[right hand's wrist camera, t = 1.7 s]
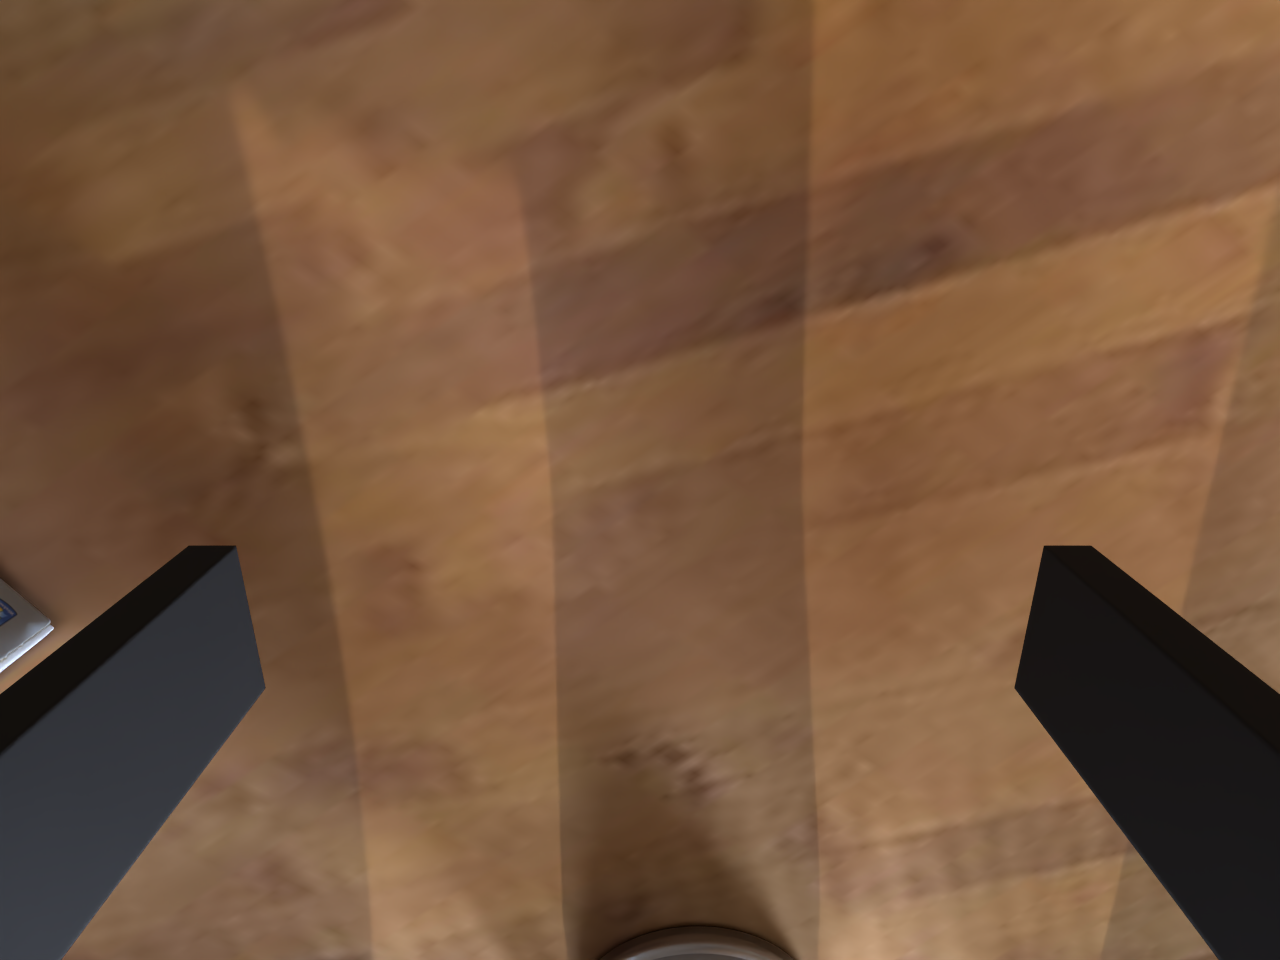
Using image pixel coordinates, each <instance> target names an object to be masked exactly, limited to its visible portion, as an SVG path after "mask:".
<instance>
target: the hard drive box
mask: <svg viewBox="0 0 1280 960" xmlns="http://www.w3.org/2000/svg"><path fill="white" fill-rule="evenodd" d="M50 623H51V621H50V619H49V618H47V617H46V616H45V615H44V614H42V613H41V612H40V611H39V610H38V609H37V608H36V607H34V606H33V605H32V604H31V603H30V602H28V601H27V600H26V599H25V598H23V597H22V596H21V595H20V594H19V593H17V592H16V591H15V590H14V589H13V588H11V587H10V586H9V585H8V584H7V583H6V582H4V581H3V580H2V579H1V578H0V672H2V671H3V670H4V669H5V668H7V667H8V666H9V665H10V664H12V663H13V662H14V661H15V660H17V659H18V658H19V657H20V656H22V655H23V654H24V653H25V652H27V651H28V650H29V649H30V648H32V647H33V646H34V645H35V644H37V643H38V642H39V641H40V640H41V639H43V638H44V637H45V636H46V635H47V634H49V633H50V632H51V631H52V630H53V629H54V627H53V626H52V625H50Z"/></svg>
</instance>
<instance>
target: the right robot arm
mask: <svg viewBox="0 0 1280 960" xmlns="http://www.w3.org/2000/svg"><path fill="white" fill-rule="evenodd" d="M264 689H265V683H264V678H263V673H262V669H261V664H260V659H259V654H258V649H257V644H256V640H255V635H254V630H253V625H252V620H251V615H250V611H249V606H248V601H247V596H246V591H245V587H244V582H243V577H242V572H241V567H240V562H239V558H238V553H237V548H236V546H188V547H187V548H185V549H184V550H183V551H182V552H180V553H179V554H178V555H176V556H175V557H174V558H173V559H171V560H170V561H169V562H168V563H166V564H165V565H164V566H162V567H161V568H160V569H159V570H157V571H156V572H155V573H154V574H152V575H151V576H150V577H149V578H147V579H146V580H145V581H143V582H142V583H141V584H140V585H138V586H137V587H136V588H135V589H133V590H132V591H131V592H130V593H128V594H127V595H126V596H124V597H123V598H122V599H121V600H119V601H118V602H117V603H116V604H114V605H113V606H112V607H110V608H109V609H108V610H107V611H105V612H104V613H103V614H102V615H100V616H99V617H98V618H97V619H95V620H94V621H93V622H91V623H90V624H89V625H88V626H86V627H85V628H84V629H83V630H81V631H80V632H79V633H78V634H76V635H75V636H74V637H72V638H71V639H70V640H69V641H67V642H66V643H65V644H64V645H62V646H61V647H60V648H58V649H57V650H56V651H55V652H53V653H52V654H51V655H50V656H48V657H47V658H46V659H45V660H43V661H42V662H41V663H39V664H38V665H37V666H36V667H34V668H33V669H32V670H31V671H29V672H28V673H27V674H25V675H24V676H23V677H22V678H20V679H19V680H18V681H17V682H15V683H14V684H13V685H12V686H10V687H9V688H8V689H6V690H5V691H4V692H3V693H1V694H0V960H61V959H62V958H63V957H64V955H65V954H66V953H67V951H68V950H69V949H70V947H71V946H72V945H73V943H74V942H75V941H76V939H77V938H78V937H79V935H80V934H81V933H82V931H83V930H84V929H85V927H86V926H87V925H88V923H89V922H90V921H91V919H92V918H93V917H94V915H95V914H96V913H97V911H98V910H99V909H100V907H101V906H102V905H103V903H104V902H105V901H106V899H107V898H108V897H109V895H110V894H111V893H112V891H113V890H114V889H115V887H116V886H117V885H118V883H119V882H120V881H121V880H122V878H123V877H124V876H125V874H126V873H127V872H128V870H129V869H130V868H131V866H132V865H133V864H134V862H135V861H136V860H137V858H138V857H139V856H140V854H141V853H142V852H143V850H144V849H145V848H146V846H147V845H148V844H149V842H150V841H151V840H152V838H153V837H154V836H155V834H156V833H157V832H158V830H159V829H160V828H161V826H162V825H163V824H164V822H165V821H166V820H167V818H168V817H169V816H170V814H171V813H172V812H173V810H174V809H175V808H176V806H177V805H178V804H179V802H180V801H181V800H182V798H183V797H184V796H185V794H186V793H187V792H188V790H189V789H190V788H191V786H192V785H193V784H194V782H195V781H196V780H197V778H198V777H199V776H200V774H201V773H202V772H203V770H204V769H205V768H206V766H207V765H208V764H209V762H210V761H211V760H212V758H213V757H214V756H215V755H216V753H217V752H218V751H219V749H220V748H221V747H222V745H223V744H224V743H225V741H226V740H227V739H228V737H229V736H230V735H231V733H232V732H233V731H234V729H235V728H236V727H237V725H238V724H239V723H240V721H241V720H242V719H243V717H244V716H245V715H246V713H247V712H248V711H249V709H250V708H251V707H252V705H253V704H254V703H255V701H256V700H257V699H258V697H259V696H260V695H261V693H262V692H263V691H264ZM1015 689H1016V691H1017V692H1018V693H1019V695H1020V696H1021V697H1022V699H1023V700H1024V701H1025V703H1026V704H1027V705H1028V707H1029V708H1030V709H1031V711H1032V712H1033V713H1034V715H1035V716H1036V717H1037V719H1038V720H1039V721H1040V723H1041V724H1042V725H1043V727H1044V728H1045V729H1046V731H1047V732H1048V733H1049V735H1050V736H1051V737H1052V739H1053V740H1054V741H1055V743H1056V744H1057V745H1058V747H1059V748H1060V749H1061V751H1062V752H1063V753H1064V755H1065V756H1066V757H1067V758H1068V760H1069V761H1070V762H1071V764H1072V765H1073V766H1074V768H1075V769H1076V770H1077V772H1078V773H1079V774H1080V776H1081V777H1082V778H1083V780H1084V781H1085V782H1086V784H1087V785H1088V786H1089V788H1090V789H1091V790H1092V792H1093V793H1094V794H1095V796H1096V797H1097V798H1098V800H1099V801H1100V802H1101V804H1102V805H1103V806H1104V808H1105V809H1106V810H1107V812H1108V813H1109V814H1110V816H1111V817H1112V818H1113V820H1114V821H1115V822H1116V824H1117V825H1118V826H1119V828H1120V829H1121V830H1122V832H1123V833H1124V834H1125V836H1126V837H1127V838H1128V840H1129V841H1130V842H1131V844H1132V845H1133V846H1134V848H1135V849H1136V850H1137V852H1138V853H1139V854H1140V856H1141V857H1142V858H1143V860H1144V861H1145V862H1146V864H1147V865H1148V866H1149V868H1150V869H1151V870H1152V872H1153V873H1154V874H1155V876H1156V877H1157V878H1158V880H1159V881H1160V882H1161V883H1162V885H1163V886H1164V887H1165V889H1166V890H1167V891H1168V893H1169V894H1170V895H1171V897H1172V898H1173V899H1174V901H1175V902H1176V903H1177V905H1178V906H1179V907H1180V909H1181V910H1182V911H1183V913H1184V914H1185V915H1186V917H1187V918H1188V919H1189V921H1190V922H1191V923H1192V925H1193V926H1194V927H1195V929H1196V930H1197V931H1198V933H1199V934H1200V935H1201V937H1202V938H1203V939H1204V941H1205V942H1206V943H1207V945H1208V946H1209V947H1210V949H1211V950H1212V951H1213V953H1214V954H1215V955H1216V957H1217V958H1218V959H1219V960H1280V694H1279V693H1277V692H1276V691H1275V690H1274V689H1272V688H1271V687H1270V686H1268V685H1267V684H1266V683H1265V682H1263V681H1262V680H1261V679H1260V678H1258V677H1257V676H1256V675H1255V674H1253V673H1252V672H1251V671H1249V670H1248V669H1247V668H1246V667H1244V666H1243V665H1242V664H1241V663H1239V662H1238V661H1237V660H1235V659H1234V658H1233V657H1232V656H1230V655H1229V654H1228V653H1227V652H1225V651H1224V650H1223V649H1222V648H1220V647H1219V646H1218V645H1216V644H1215V643H1214V642H1213V641H1211V640H1210V639H1209V638H1208V637H1206V636H1205V635H1204V634H1202V633H1201V632H1200V631H1199V630H1197V629H1196V628H1195V627H1194V626H1192V625H1191V624H1190V623H1189V622H1187V621H1186V620H1185V619H1183V618H1182V617H1181V616H1180V615H1178V614H1177V613H1176V612H1175V611H1173V610H1172V609H1171V608H1170V607H1168V606H1167V605H1166V604H1164V603H1163V602H1162V601H1161V600H1159V599H1158V598H1157V597H1156V596H1154V595H1153V594H1152V593H1150V592H1149V591H1148V590H1147V589H1145V588H1144V587H1143V586H1142V585H1140V584H1139V583H1138V582H1137V581H1135V580H1134V579H1133V578H1131V577H1130V576H1129V575H1128V574H1126V573H1125V572H1124V571H1123V570H1121V569H1120V568H1119V567H1118V566H1116V565H1115V564H1114V563H1112V562H1111V561H1110V560H1109V559H1107V558H1106V557H1105V556H1104V555H1102V554H1101V553H1100V552H1098V551H1097V550H1096V549H1095V548H1093V547H1092V546H1044V548H1043V553H1042V558H1041V562H1040V567H1039V572H1038V577H1037V582H1036V587H1035V591H1034V596H1033V601H1032V606H1031V611H1030V615H1029V620H1028V625H1027V630H1026V635H1025V640H1024V644H1023V649H1022V654H1021V659H1020V664H1019V669H1018V673H1017V678H1016V683H1015ZM600 960H794V959H793V958H792V957H790V956H789V955H788V954H787V953H785V952H784V951H783V950H781V949H780V948H778V947H776V946H775V945H773V944H771V943H769V942H767V941H765V940H763V939H761V938H758V937H756V936H753V935H750V934H747V933H743V932H740V931H736V930H731V929H726V928H718V927H704V926H692V927H678V928H671V929H665V930H660V931H656V932H652V933H648V934H645V935H642V936H639V937H637V938H634V939H632V940H630V941H627V942H626V943H624V944H622V945H620V946H618V947H616V948H615V949H613V950H612V951H610V952H609V953H607V954H606V955H605V956H603V957H602V958H601V959H600Z"/></svg>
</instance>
